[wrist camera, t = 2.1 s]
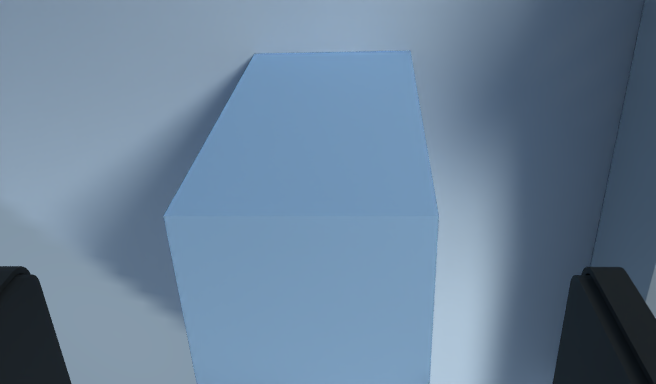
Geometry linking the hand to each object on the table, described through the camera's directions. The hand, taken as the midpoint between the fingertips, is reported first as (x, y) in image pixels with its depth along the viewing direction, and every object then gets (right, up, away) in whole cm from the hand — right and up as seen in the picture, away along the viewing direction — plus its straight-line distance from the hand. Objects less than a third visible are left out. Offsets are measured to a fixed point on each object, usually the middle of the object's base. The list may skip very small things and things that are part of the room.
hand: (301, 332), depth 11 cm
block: (+1, +4, +6) cm, 7 cm away
